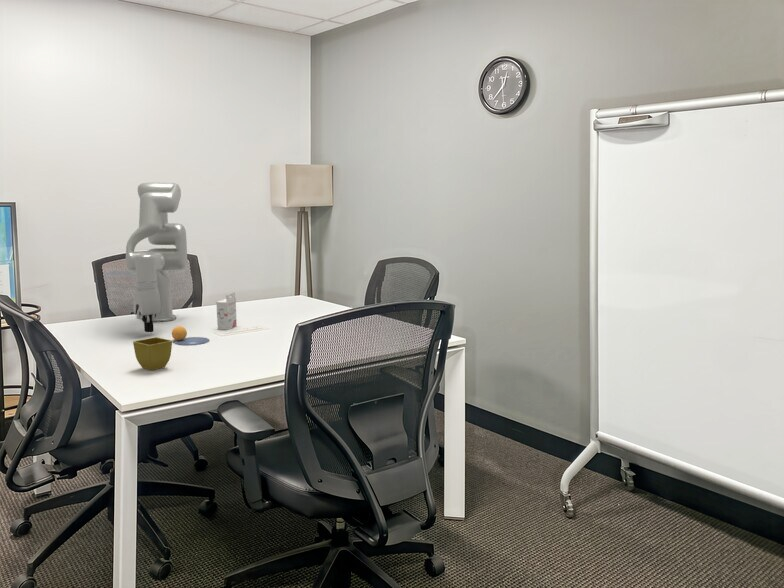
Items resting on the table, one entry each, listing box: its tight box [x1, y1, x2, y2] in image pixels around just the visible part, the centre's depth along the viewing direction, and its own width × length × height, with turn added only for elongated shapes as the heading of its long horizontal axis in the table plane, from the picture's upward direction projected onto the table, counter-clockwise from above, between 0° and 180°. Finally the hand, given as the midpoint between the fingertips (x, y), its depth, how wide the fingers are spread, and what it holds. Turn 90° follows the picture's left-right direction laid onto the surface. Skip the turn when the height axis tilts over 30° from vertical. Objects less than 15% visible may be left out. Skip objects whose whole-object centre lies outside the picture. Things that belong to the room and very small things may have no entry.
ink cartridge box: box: [215, 292, 237, 331], centre depth 265 cm, size 9×5×15 cm, turn 168°
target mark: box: [173, 336, 210, 346], centre depth 241 cm, size 13×13×1 cm
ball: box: [171, 325, 188, 341], centre depth 242 cm, size 6×6×6 cm
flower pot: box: [132, 336, 173, 371], centre depth 203 cm, size 9×9×9 cm
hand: (149, 331), depth 250 cm, fingers closed
